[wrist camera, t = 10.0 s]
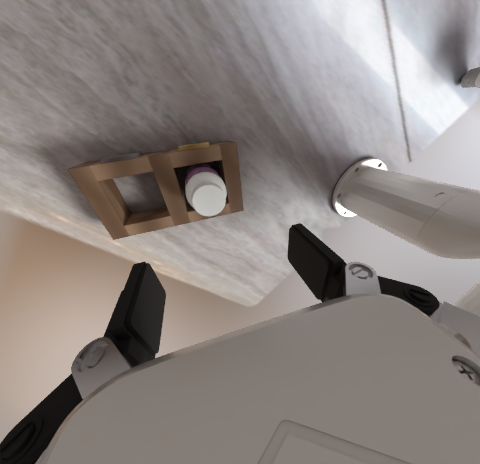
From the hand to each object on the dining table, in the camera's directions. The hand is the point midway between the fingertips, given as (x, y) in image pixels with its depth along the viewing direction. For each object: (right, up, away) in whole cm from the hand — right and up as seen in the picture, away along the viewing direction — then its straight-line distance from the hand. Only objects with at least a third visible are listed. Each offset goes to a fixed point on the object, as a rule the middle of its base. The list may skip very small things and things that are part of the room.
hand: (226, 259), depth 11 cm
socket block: (-10, +9, +16) cm, 20 cm away
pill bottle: (-5, +10, +16) cm, 20 cm away
